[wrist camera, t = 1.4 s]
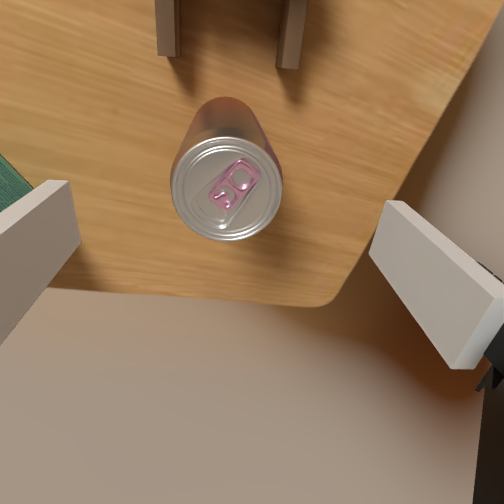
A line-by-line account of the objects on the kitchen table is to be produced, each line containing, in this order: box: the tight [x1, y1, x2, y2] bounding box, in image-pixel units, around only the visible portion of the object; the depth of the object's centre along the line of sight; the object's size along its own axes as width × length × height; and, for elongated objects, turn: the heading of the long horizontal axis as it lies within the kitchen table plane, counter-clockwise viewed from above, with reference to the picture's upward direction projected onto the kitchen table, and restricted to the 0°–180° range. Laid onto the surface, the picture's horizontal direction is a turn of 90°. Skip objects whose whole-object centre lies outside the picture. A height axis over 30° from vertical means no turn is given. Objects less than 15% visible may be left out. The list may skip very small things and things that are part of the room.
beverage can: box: [170, 97, 283, 242], centre depth 22 cm, size 6×6×15 cm
